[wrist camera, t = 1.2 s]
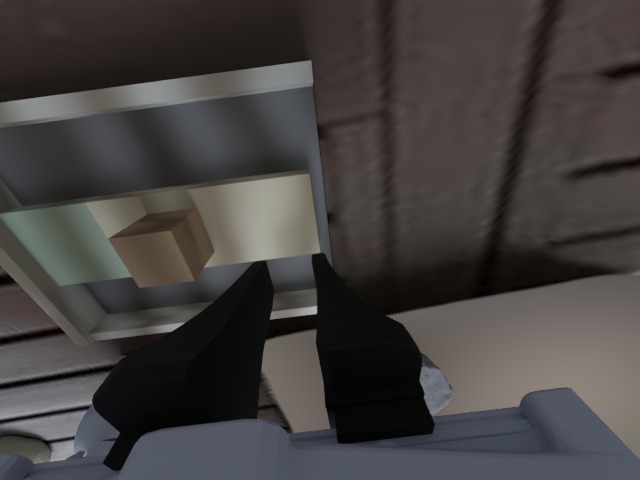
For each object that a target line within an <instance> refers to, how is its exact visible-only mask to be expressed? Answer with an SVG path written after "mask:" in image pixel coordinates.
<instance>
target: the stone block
mask: <svg viewBox="0 0 640 480" xmlns="http://www.w3.org/2000/svg"><path fill="white" fill-rule="evenodd" d="M421 355H422V369H421V375H420V383H421V385H422V387H423V390H424V393H425V395H424V399H425V401H426V404H427V406H428V409H429V411H430V414H434V413H436V412H437V411H441V409H443V408H444V407H445V406H446V404H447V403H449V402H450V401H451V398H453V396H454V390H453V388H452V387H451V385H450V384H449V383H448V381H447V379H446V378H445V376H444V374H443V373H442V372H441V370H440V369H439V368H438V367H437V366H435V365H434V364H433V362H432V361H430V360H429V358H428V357H426V356H425V355H424V354H422V353H421Z"/></svg>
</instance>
